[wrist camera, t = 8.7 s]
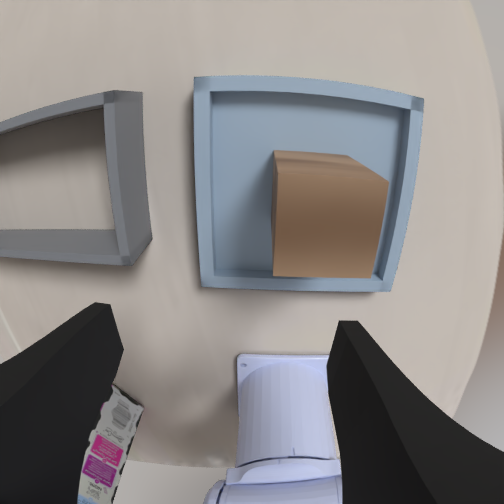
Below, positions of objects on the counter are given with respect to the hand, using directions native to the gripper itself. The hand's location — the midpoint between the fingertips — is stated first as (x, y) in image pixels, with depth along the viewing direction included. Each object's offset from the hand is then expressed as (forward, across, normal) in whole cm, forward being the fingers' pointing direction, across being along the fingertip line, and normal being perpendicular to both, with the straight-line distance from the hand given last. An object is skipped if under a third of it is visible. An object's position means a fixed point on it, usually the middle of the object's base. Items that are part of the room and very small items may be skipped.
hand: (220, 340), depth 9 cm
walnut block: (+9, -4, -2) cm, 10 cm away
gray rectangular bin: (+10, +14, -3) cm, 18 cm away
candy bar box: (+10, +16, +23) cm, 30 cm away
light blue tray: (+10, -4, -2) cm, 11 cm away
